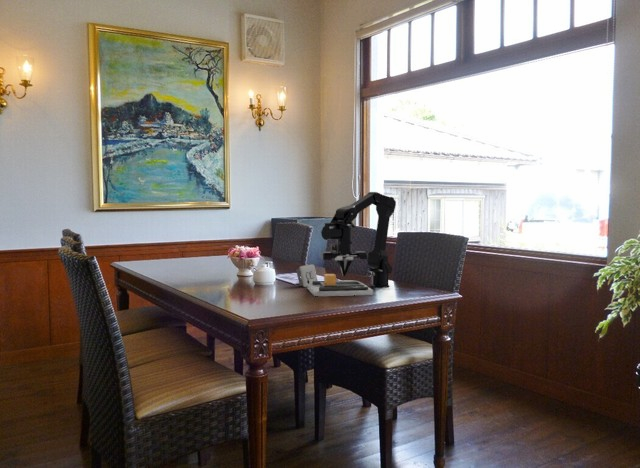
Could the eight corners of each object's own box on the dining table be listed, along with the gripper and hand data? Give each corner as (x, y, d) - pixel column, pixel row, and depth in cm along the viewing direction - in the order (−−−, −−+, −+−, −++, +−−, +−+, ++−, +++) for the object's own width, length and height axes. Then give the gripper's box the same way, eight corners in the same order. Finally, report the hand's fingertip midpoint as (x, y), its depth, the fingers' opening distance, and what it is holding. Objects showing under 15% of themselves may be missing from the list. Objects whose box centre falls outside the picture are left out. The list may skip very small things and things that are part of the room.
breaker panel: (361, 287, 245) (362, 279, 245) (373, 294, 228) (373, 286, 227) (307, 288, 241) (307, 280, 241) (314, 296, 223) (314, 287, 223)
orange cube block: (333, 285, 236) (333, 273, 236) (336, 287, 231) (336, 275, 231) (324, 285, 235) (324, 274, 235) (326, 287, 230) (326, 275, 230)
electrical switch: (305, 287, 244) (303, 266, 244) (296, 287, 247) (294, 266, 247) (318, 285, 251) (317, 264, 251) (309, 284, 254) (308, 264, 254)
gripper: (361, 237, 242) (360, 273, 244) (318, 237, 239) (318, 273, 240) (368, 239, 231) (367, 276, 233) (323, 239, 228) (323, 277, 229)
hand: (343, 276), depth 234 cm, fingers closed
